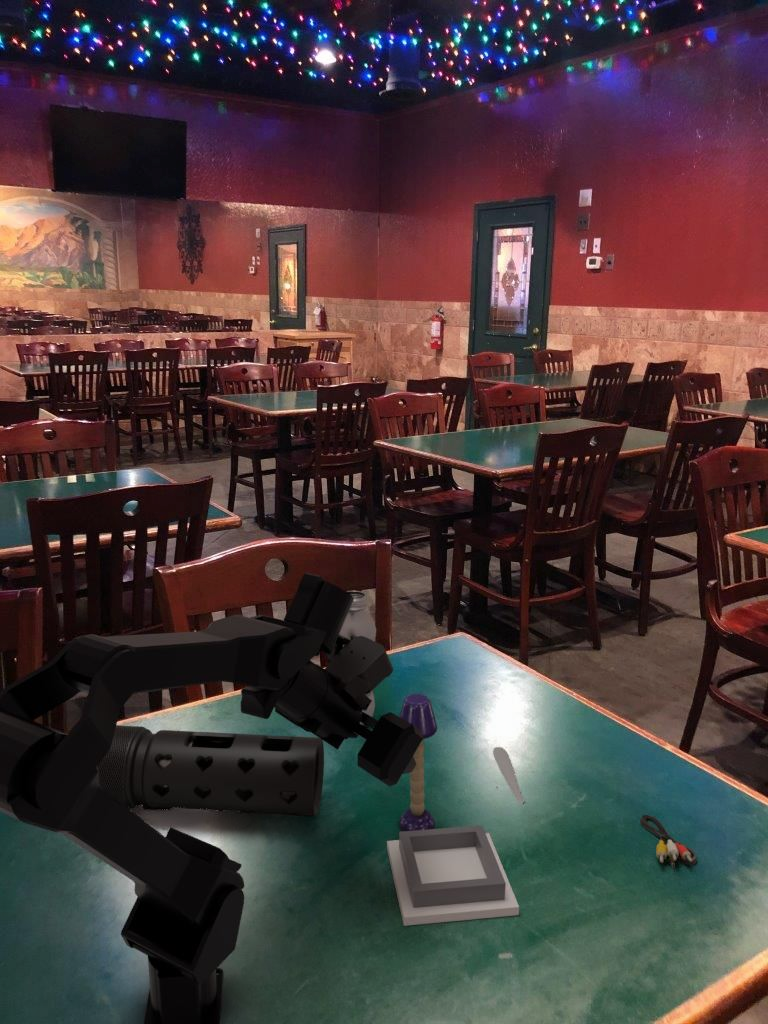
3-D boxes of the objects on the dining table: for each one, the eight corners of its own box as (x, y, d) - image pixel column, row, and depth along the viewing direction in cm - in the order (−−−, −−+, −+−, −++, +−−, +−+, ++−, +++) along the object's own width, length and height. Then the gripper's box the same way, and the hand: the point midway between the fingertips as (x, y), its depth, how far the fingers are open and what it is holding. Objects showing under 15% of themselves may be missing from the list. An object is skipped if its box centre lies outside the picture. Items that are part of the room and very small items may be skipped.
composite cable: (635, 820, 101) (637, 802, 101) (675, 821, 101) (677, 803, 101) (659, 875, 92) (661, 856, 91) (702, 876, 92) (705, 857, 91)
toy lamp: (390, 832, 98) (392, 704, 94) (401, 809, 102) (403, 686, 98) (429, 840, 97) (434, 711, 92) (439, 816, 101) (443, 692, 96)
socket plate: (518, 915, 85) (520, 890, 84) (403, 925, 84) (404, 900, 83) (488, 840, 97) (489, 818, 96) (386, 848, 95) (387, 825, 94)
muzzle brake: (313, 841, 96) (312, 763, 94) (79, 828, 98) (71, 751, 95) (324, 793, 105) (324, 720, 103) (110, 782, 107) (104, 710, 104)
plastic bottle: (323, 716, 124) (322, 590, 119) (364, 707, 127) (365, 584, 122) (339, 736, 118) (339, 606, 113) (382, 727, 121) (384, 599, 116)
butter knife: (511, 746, 116) (491, 745, 116) (570, 881, 90) (543, 881, 90) (511, 749, 116) (490, 749, 116) (569, 885, 91) (543, 885, 90)
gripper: (411, 654, 78) (483, 719, 89) (294, 599, 92) (368, 661, 102) (347, 758, 75) (429, 813, 86) (236, 685, 89) (318, 740, 99)
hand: (384, 750), depth 93 cm, fingers open, 9 cm apart
